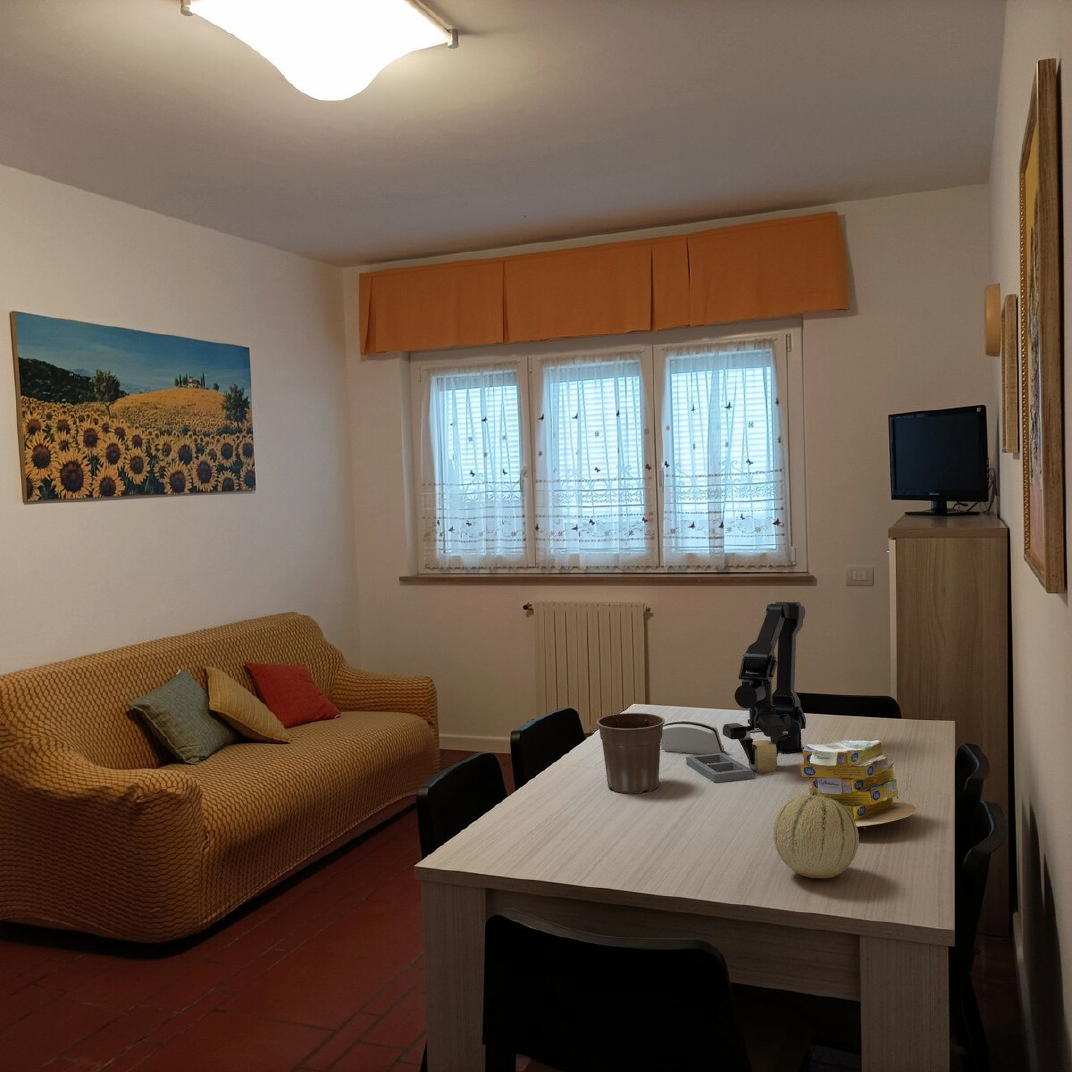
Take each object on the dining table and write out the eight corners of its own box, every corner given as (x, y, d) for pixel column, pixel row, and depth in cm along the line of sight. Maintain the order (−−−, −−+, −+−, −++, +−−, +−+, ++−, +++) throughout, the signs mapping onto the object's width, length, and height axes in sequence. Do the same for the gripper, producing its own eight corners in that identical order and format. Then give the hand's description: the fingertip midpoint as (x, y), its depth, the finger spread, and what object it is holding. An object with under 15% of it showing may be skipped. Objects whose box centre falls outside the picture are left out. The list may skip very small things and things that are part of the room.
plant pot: (664, 797, 235) (661, 728, 235) (595, 796, 238) (592, 727, 238) (669, 777, 251) (667, 712, 250) (604, 777, 254) (601, 712, 254)
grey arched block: (725, 751, 274) (720, 718, 271) (721, 761, 270) (715, 728, 267) (667, 746, 282) (661, 714, 279) (661, 755, 278) (655, 724, 275)
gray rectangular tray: (722, 760, 265) (722, 752, 265) (752, 778, 247) (752, 770, 247) (686, 764, 263) (686, 756, 263) (714, 782, 245) (713, 774, 245)
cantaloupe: (778, 890, 178) (775, 805, 178) (772, 860, 193) (769, 781, 192) (866, 892, 176) (863, 806, 175) (853, 861, 190) (851, 782, 190)
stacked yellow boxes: (766, 818, 218) (764, 740, 217) (850, 796, 230) (847, 723, 229) (856, 850, 196) (853, 764, 196) (942, 825, 209) (940, 744, 208)
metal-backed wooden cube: (769, 765, 259) (768, 739, 258) (778, 770, 254) (777, 744, 254) (747, 767, 257) (747, 741, 257) (756, 772, 252) (755, 746, 252)
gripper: (739, 710, 245) (741, 774, 246) (810, 703, 249) (812, 766, 250) (720, 701, 256) (722, 763, 256) (789, 695, 260) (791, 756, 261)
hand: (762, 762), depth 256 cm, fingers closed on metal-backed wooden cube, 6 cm apart
